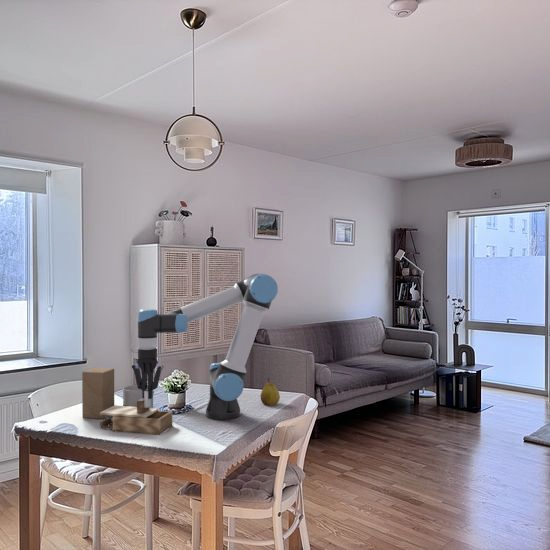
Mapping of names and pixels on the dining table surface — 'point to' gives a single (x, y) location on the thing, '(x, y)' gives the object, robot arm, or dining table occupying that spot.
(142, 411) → the lid
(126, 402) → the planter
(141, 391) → the light blue block
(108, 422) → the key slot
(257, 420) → the dining table surface
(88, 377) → the wooden block
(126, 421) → the wooden box
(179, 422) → the dining table surface
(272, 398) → the fruit
